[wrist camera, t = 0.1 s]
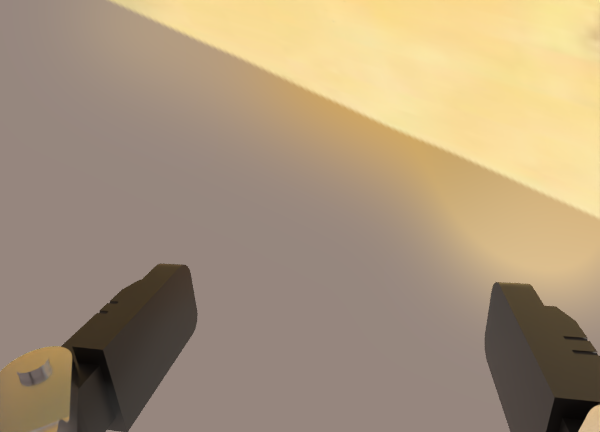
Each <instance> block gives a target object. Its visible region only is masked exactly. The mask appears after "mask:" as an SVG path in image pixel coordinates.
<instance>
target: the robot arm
mask: <svg viewBox="0 0 600 432" xmlns="http://www.w3.org/2000/svg"><path fill="white" fill-rule="evenodd" d="M196 323H197V308H196V302H195V297H194V290H193V285H192V279H191V273H190V270H189V268H188V267H187V266H186V265H178V264H158V265H157V266H156V267H154V268H153V269H152V270H151V271H150V272H149V273H148V274H147V275H146V276H145V277H144V278H143V279H142V280H139V281H137V282H135V283H133V284H131V285H130V286H128V287H126V288H124V289H122V290H121V291H120V292H119V293H118V294H117V295H116V296H115V297H114V298H113V299H112V300H111V301H110V303H107V304H106V305H105V306H104V307H103V308H102V309H101V310H100V313H97V314H96V315H94V316H93V317H92V318H91V319H90V320H89V321H88V322H87V323H86V324H85V325H84V326H83V327H82V328H80V329H79V330H78V331H77V332H76V333H75V334H74V335H73V336H72V337H71V338H70V339H69V340H68V341H66V342H65V343H64V344H63V345H62V346H61V347H58V346H53V347H45V348H41V349H37V350H34V351H31V352H29V353H26V354H24V355H22V356H20V357H18V358H17V359H16V360H14V361H12V362H11V363H9V364H8V365H7V366H6V367H5V368H3V369H2V371H1V372H0V432H105V431H106V430H114V431H121V432H128V431H129V429H130V428H131V426H132V424H133V423H134V422H135V420H136V419H137V417H138V416H139V414H140V413H141V411H142V409H143V408H144V407H145V405H146V403H147V402H148V401H149V399H150V398H151V396H152V394H153V393H154V391H155V390H156V388H157V387H158V385H159V384H160V382H161V381H162V379H163V378H164V376H165V375H166V373H167V372H168V370H169V369H170V367H171V366H172V364H173V363H174V361H175V360H176V358H177V357H178V355H179V354H180V352H181V351H182V349H183V348H184V346H185V345H186V343H187V342H188V340H189V339H190V337H191V336H192V334H193V332H194V330H195V327H196ZM485 353H486V359H487V362H488V365H489V368H490V371H491V374H492V377H493V380H494V383H495V386H496V389H497V392H498V395H499V398H500V401H501V404H502V408H503V410H504V413H505V416H506V420H507V423H508V426H509V428H510V432H600V356H598V355H597V351H596V349H595V348H594V347H593V346H592V344H591V342H590V341H587V337H586V335H585V334H584V332H583V331H582V330H581V328H580V327H579V325H578V324H577V322H576V321H575V320H573V319H572V318H571V317H569V316H568V315H566V314H565V313H564V312H562V311H561V310H560V309H558V308H557V307H554V306H544V305H543V303H542V301H541V300H540V298H539V297H538V295H537V293H536V292H535V290H534V289H533V287H532V286H531V285H530V284H520V283H501V282H496V283H495V284H494V285H493V288H492V293H491V299H490V306H489V312H488V319H487V325H486V332H485Z"/></svg>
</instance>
